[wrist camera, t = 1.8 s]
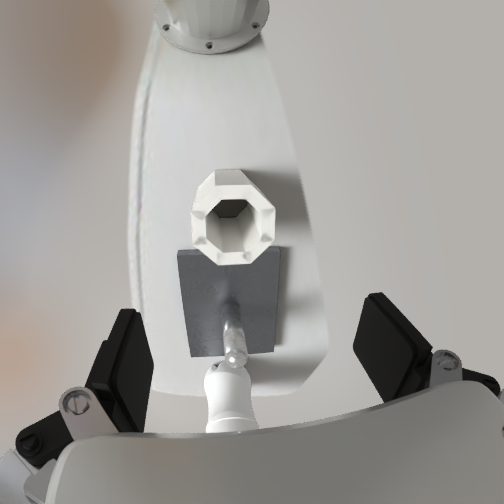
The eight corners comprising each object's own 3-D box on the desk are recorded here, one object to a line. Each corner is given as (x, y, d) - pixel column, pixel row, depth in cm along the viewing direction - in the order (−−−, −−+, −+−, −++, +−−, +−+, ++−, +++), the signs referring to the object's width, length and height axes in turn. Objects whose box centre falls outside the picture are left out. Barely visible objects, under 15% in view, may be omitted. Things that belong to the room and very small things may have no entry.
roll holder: (178, 250, 33) (165, 302, 23) (277, 246, 34) (304, 294, 24) (191, 350, 39) (189, 410, 29) (271, 345, 41) (288, 403, 31)
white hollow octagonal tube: (196, 170, 30) (189, 186, 20) (257, 169, 30) (276, 184, 21) (199, 228, 32) (194, 266, 23) (256, 225, 33) (273, 262, 24)
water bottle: (258, 367, 42) (291, 513, 20) (229, 389, 44) (247, 525, 21) (222, 348, 40) (240, 512, 17) (195, 373, 41) (198, 521, 19)
